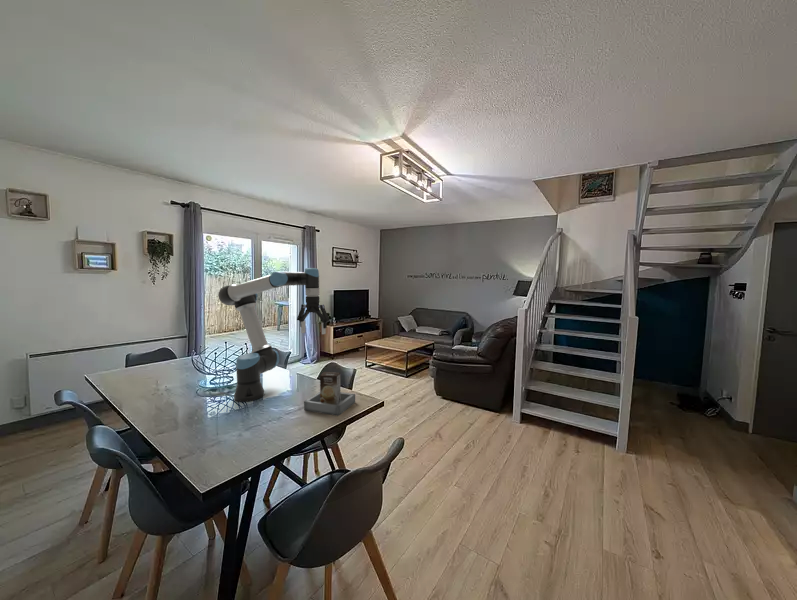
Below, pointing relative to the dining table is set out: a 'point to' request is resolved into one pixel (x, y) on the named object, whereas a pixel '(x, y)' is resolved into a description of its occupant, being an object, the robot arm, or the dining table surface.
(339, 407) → the gray tray
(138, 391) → the dining table surface
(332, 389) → the coffee box
